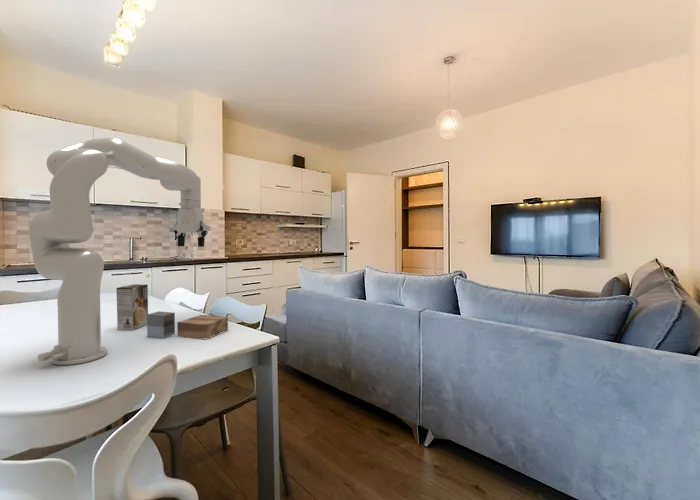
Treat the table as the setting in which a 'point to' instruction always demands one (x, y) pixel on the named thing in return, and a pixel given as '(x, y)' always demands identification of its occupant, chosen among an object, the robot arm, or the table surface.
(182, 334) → the walnut stand
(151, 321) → the block
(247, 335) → the table surface
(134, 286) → the coffee box
